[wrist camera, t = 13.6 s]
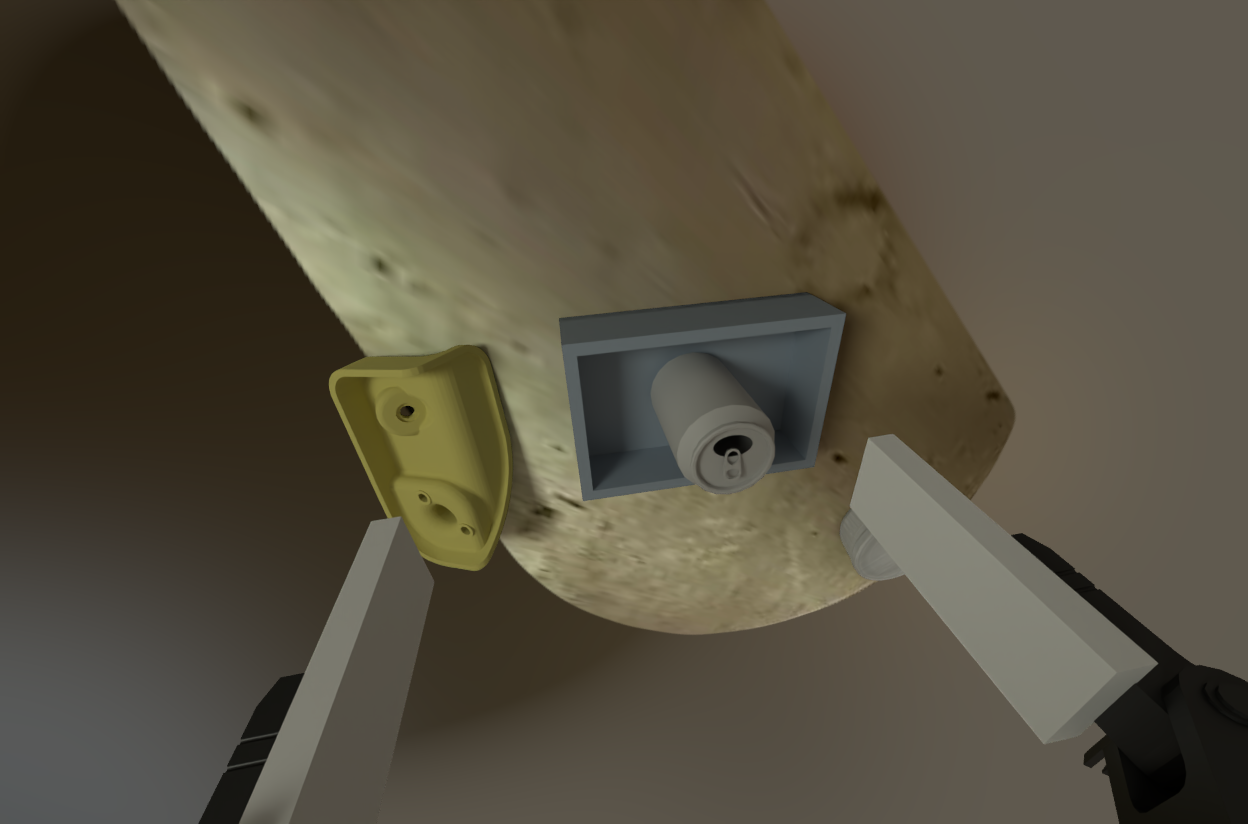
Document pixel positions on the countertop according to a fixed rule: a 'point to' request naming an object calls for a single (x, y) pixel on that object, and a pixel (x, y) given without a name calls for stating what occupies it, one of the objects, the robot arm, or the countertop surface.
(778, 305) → the bin
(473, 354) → the plastic component
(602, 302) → the countertop surface
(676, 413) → the can
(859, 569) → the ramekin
